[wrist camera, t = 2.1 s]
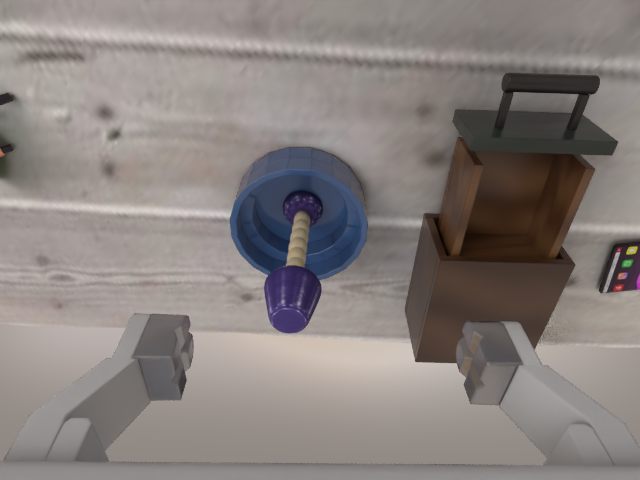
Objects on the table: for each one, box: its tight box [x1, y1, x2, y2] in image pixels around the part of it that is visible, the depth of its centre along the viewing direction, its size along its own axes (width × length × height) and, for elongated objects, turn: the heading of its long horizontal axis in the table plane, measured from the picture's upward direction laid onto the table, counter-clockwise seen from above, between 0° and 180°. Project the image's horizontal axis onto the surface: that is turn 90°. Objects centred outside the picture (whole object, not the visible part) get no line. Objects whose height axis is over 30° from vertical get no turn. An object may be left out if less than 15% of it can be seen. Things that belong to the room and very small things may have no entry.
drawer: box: [437, 73, 618, 259], centre depth 40 cm, size 18×11×6 cm, turn 178°
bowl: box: [230, 147, 368, 280], centre depth 44 cm, size 13×13×5 cm
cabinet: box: [405, 214, 575, 363], centre depth 48 cm, size 15×13×8 cm
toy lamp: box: [264, 191, 323, 333], centre depth 39 cm, size 5×5×17 cm
